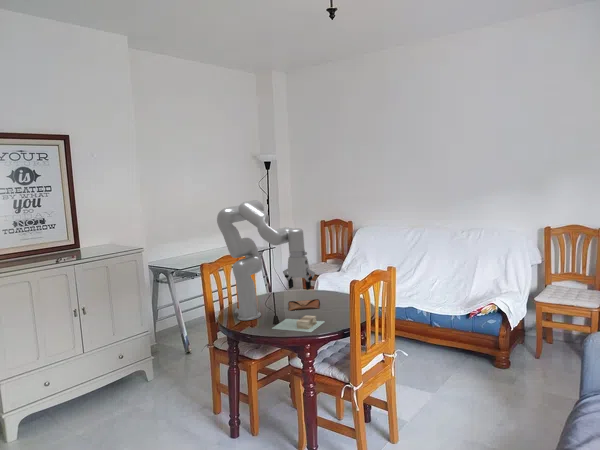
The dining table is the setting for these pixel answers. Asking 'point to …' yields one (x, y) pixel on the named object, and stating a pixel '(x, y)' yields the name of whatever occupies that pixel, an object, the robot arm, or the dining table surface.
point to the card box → (306, 322)
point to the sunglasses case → (304, 305)
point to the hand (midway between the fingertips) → (299, 288)
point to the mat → (295, 325)
